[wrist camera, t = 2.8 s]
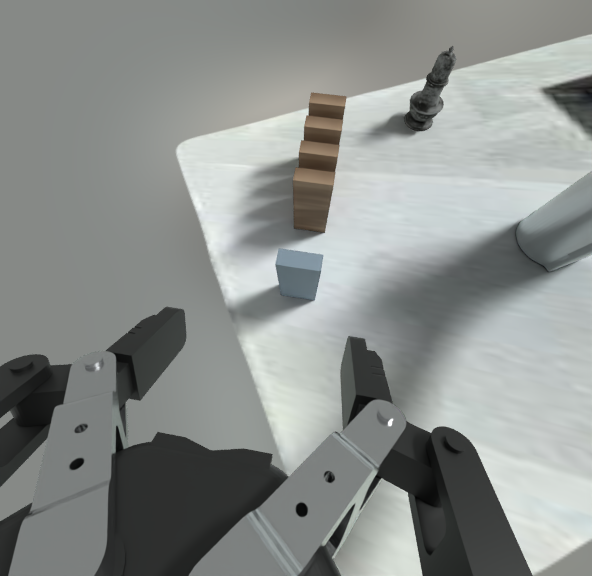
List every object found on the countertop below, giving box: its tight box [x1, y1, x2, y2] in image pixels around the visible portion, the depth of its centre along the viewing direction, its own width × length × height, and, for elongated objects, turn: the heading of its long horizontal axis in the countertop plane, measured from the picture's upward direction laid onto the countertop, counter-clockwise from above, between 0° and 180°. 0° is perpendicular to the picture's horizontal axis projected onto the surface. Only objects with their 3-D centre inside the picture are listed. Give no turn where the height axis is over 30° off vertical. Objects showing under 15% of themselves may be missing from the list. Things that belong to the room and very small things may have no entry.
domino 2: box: [304, 116, 343, 145], centre depth 41 cm, size 2×5×11 cm, turn 80°
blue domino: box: [275, 248, 323, 300], centre depth 35 cm, size 2×5×11 cm, turn 81°
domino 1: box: [309, 93, 346, 120], centre depth 43 cm, size 2×5×11 cm, turn 81°
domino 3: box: [299, 140, 339, 172], centre depth 40 cm, size 2×5×11 cm, turn 81°
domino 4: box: [293, 167, 335, 233], centre depth 38 cm, size 2×5×11 cm, turn 80°
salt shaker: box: [404, 46, 456, 131], centre depth 45 cm, size 6×6×12 cm
